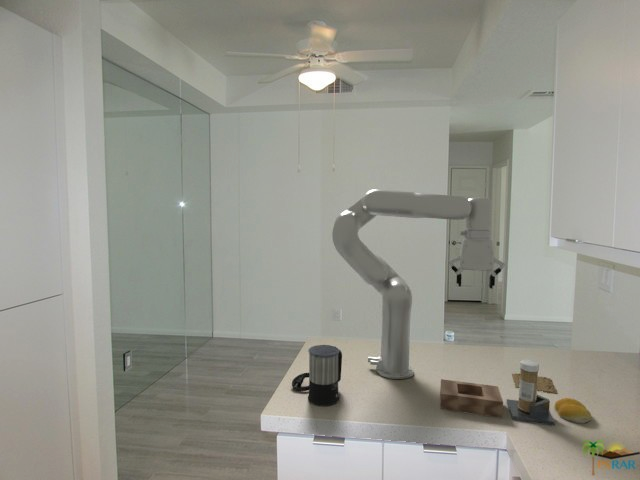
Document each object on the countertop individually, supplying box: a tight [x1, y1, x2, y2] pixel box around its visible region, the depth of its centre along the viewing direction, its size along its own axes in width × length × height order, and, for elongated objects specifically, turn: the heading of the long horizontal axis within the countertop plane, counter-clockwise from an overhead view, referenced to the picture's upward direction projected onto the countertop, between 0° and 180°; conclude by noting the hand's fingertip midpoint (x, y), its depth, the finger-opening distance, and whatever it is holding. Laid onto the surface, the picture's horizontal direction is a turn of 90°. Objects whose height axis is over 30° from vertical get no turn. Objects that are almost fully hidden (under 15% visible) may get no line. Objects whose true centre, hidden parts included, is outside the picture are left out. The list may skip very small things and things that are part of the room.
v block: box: [506, 394, 555, 426], centre depth 112 cm, size 10×11×4 cm
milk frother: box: [291, 344, 343, 407], centre depth 122 cm, size 14×16×15 cm
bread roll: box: [553, 397, 592, 424], centre depth 111 cm, size 8×9×4 cm
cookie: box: [511, 372, 558, 395], centre depth 132 cm, size 12×12×1 cm
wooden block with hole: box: [439, 378, 504, 419], centre depth 116 cm, size 16×10×4 cm, turn 74°
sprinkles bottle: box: [518, 359, 540, 413], centre depth 112 cm, size 5×5×14 cm
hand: (475, 286), depth 135 cm, fingers open, 9 cm apart
